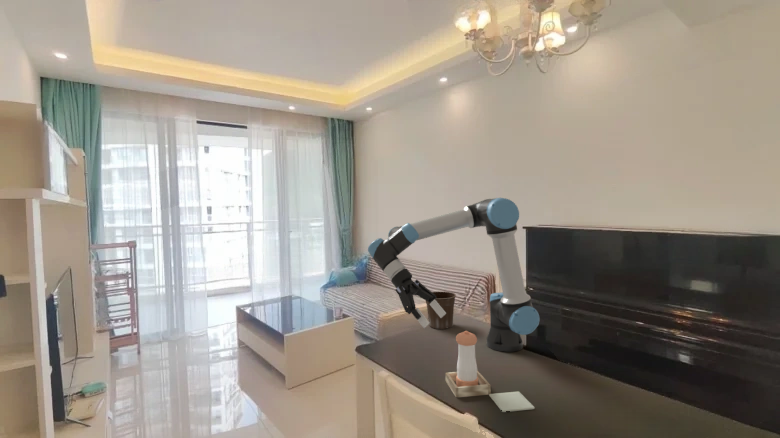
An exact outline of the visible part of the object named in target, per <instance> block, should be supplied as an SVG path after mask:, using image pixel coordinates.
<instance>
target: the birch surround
mask: <svg viewBox="0 0 780 438" xmlns="http://www.w3.org/2000/svg"><path fill="white" fill-rule="evenodd" d="M456 376H457V371H452V372H451V371H449V372H445V382H446V384H447V386H448V387H449V388H450V390H451V392H452V393H453V396H455V398H457V399H458V398H467V397H476V396H486V395H488V396H489V394H492V390H491V386H492V385H491V384H490V383H489V381H488V380H487V379H486V378H485V377H484V376H483V375H482V373H480V372H479V370H478V369H477V377H478V385H473V386H462V387H457V385H456Z"/></svg>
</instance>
